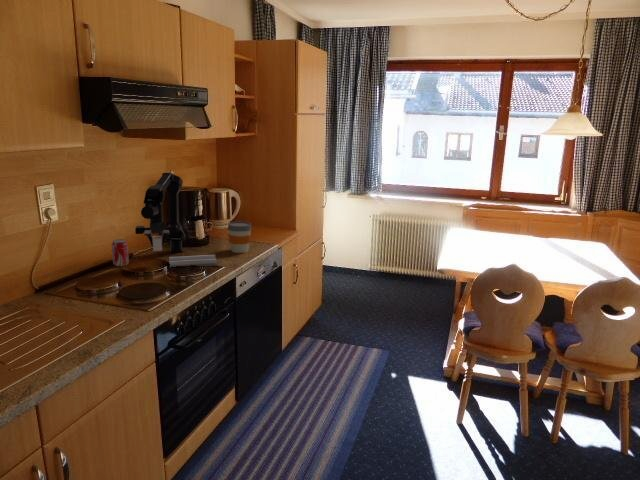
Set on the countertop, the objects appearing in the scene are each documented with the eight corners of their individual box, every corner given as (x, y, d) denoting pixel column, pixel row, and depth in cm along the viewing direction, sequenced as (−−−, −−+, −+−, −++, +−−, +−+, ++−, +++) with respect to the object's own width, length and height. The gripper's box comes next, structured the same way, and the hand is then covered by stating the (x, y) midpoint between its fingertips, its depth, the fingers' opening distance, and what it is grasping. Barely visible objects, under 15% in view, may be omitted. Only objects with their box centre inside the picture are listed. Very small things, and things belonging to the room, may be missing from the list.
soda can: (110, 264, 225) (108, 240, 222) (125, 261, 230) (123, 238, 227) (116, 268, 220) (114, 243, 217) (131, 265, 225) (130, 241, 222)
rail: (169, 262, 232) (169, 256, 231) (214, 259, 239) (214, 254, 238) (169, 268, 222) (169, 262, 222) (217, 265, 229) (216, 259, 229)
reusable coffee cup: (235, 255, 248) (235, 227, 245) (223, 249, 258) (223, 222, 254) (255, 251, 256) (255, 224, 253) (243, 246, 266) (243, 220, 262)
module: (153, 248, 226) (152, 235, 224) (162, 247, 227) (161, 235, 226) (153, 251, 221) (152, 238, 220) (162, 250, 223) (161, 238, 221)
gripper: (133, 218, 210) (135, 252, 214) (177, 217, 216) (178, 250, 220) (135, 213, 220) (136, 246, 224) (176, 213, 226) (177, 244, 230)
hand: (157, 246), depth 224 cm, fingers closed on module, 4 cm apart
